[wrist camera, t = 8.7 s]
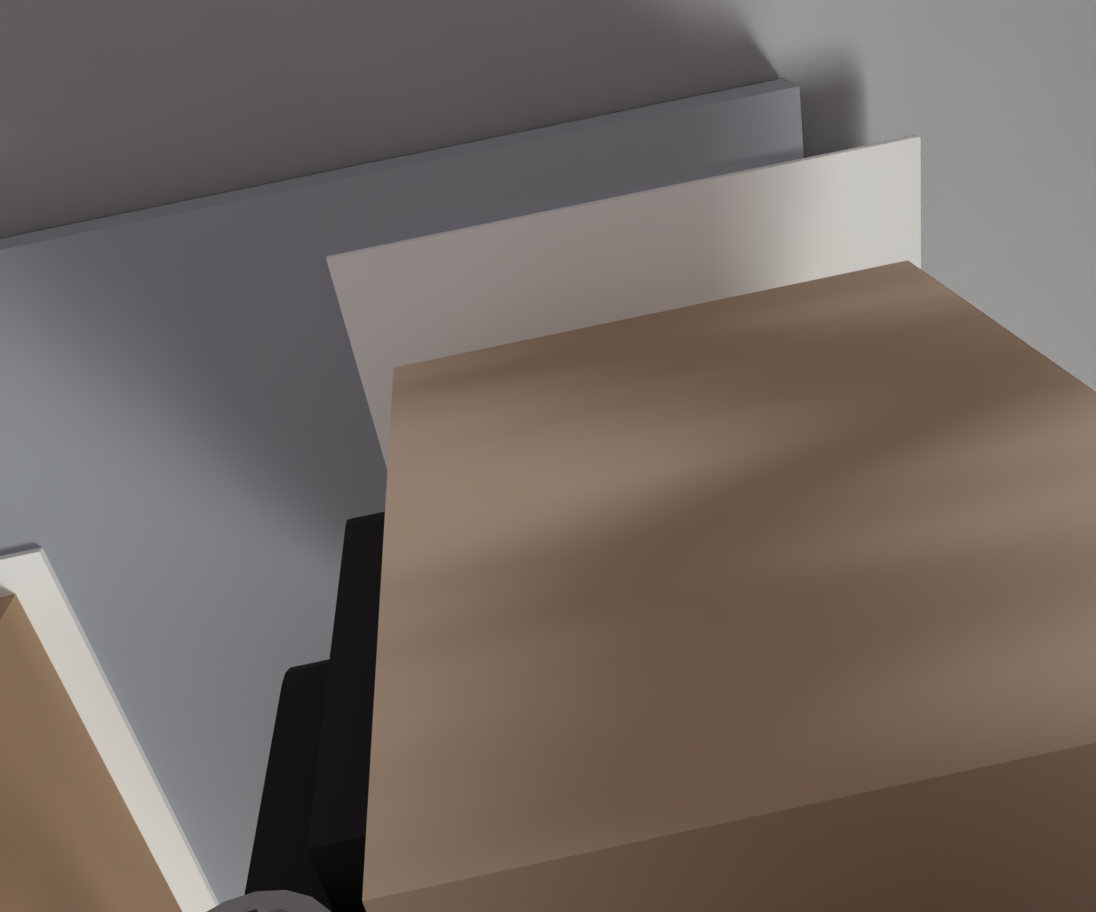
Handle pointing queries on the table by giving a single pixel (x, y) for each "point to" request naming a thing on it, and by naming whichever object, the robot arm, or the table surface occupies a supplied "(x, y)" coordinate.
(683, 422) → the maple cube
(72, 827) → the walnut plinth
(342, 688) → the robot arm
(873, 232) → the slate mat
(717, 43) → the table surface
